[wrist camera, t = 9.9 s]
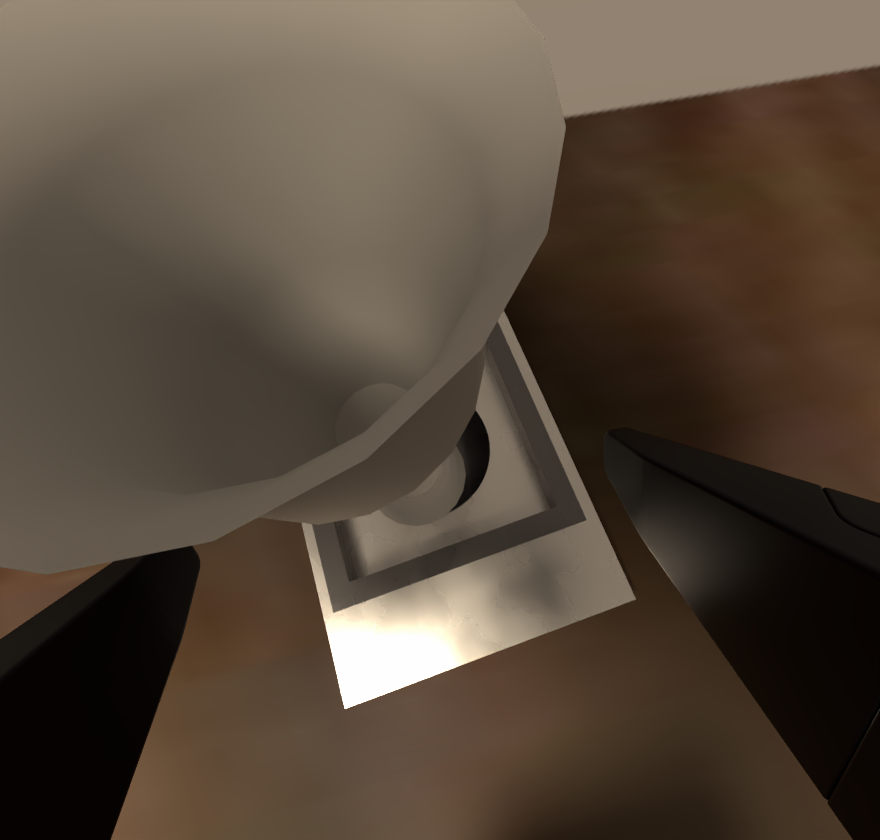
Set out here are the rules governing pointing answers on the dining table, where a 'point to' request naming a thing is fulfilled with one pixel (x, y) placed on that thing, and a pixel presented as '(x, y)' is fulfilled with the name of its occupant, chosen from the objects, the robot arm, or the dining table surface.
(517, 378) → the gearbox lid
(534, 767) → the dining table surface
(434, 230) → the chalice
